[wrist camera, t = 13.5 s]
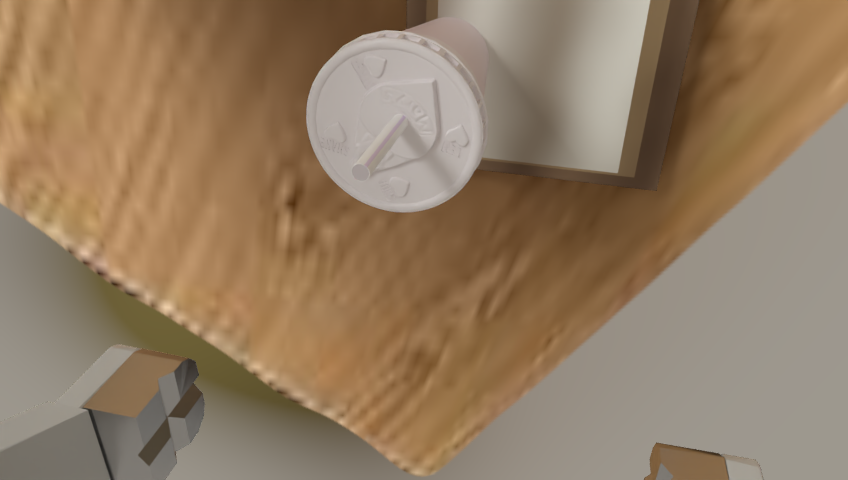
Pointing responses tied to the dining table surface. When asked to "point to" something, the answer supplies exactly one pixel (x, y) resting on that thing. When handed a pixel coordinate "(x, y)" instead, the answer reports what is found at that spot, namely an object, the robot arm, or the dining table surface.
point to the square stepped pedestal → (577, 83)
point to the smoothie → (402, 114)
